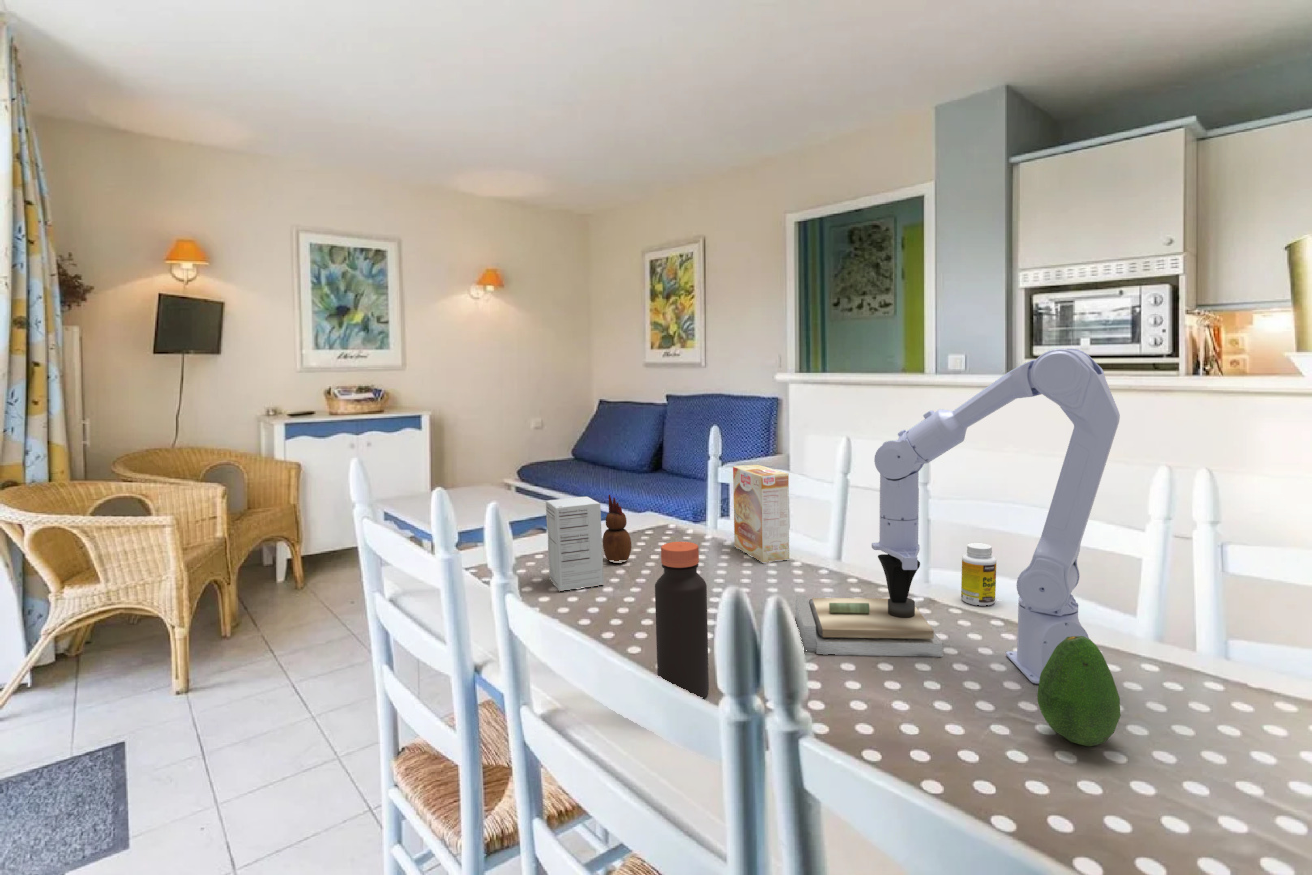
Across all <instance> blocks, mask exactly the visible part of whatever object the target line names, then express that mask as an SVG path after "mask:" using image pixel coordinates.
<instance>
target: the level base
mask: <svg viewBox="0 0 1312 875" xmlns="http://www.w3.org/2000/svg"><path fill="white" fill-rule="evenodd" d="M794 596H795V597H794V601H795V602H794V603H795V604H794V606H795V617H794V618H795V622H796V625H798V626H797V628H798V627H799V630H800V634H799V637H800V636H801V638H802V642H803V646H804V650H803V652H804V651H805V652H806V650H807V651H808V653H809V651H810V652H811V653H815V652H816V655H817V654H823V656H826V655H827V656H829V655H828V654H835V655H834V656H874V657H877V656H878V657H879V656H880V657H928V658H929V657H931V658H932V657H934V658H935V657H938V658H943V650H944V644H943V643H944V642H942V641H941V639H940V638H939V637H938V635H937V633H936V632H934V639H922V638H847V637H823V636H821V635H819V633H818V630H817V627H816V624H815V621H814V618H813V614H812V611H811V608H810V605H809V600H808V598H807V597H808V596H807V595H806V594H795V595H794ZM799 630H798V631H799ZM801 638H800V639H801ZM802 642H801V643H802ZM803 646H802V647H803ZM812 651H814V652H812ZM805 652H804V653H805Z"/></svg>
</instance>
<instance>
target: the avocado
mask: <svg viewBox="0 0 1312 875" xmlns="http://www.w3.org/2000/svg"><path fill="white" fill-rule="evenodd" d="M1036 695H1037V703H1038V707H1039V710H1040V712H1041V715H1042V716H1043V718H1044V719H1045V721H1046V723H1047V725H1048V726H1049V727H1050V728H1051V729H1052V730H1053V731H1054V733H1057V734H1058V735H1060V736H1062V737H1063V738H1065V739H1066V740H1067V741H1069V742H1070V743H1073V744H1076V745H1079V746H1085V747H1093V746H1096V745H1101V744H1104V743H1105V742H1107V740H1108V739H1109V738H1110V737H1111V736H1112V735H1113V734H1114V733H1115V731H1116V729H1117V725H1118V723H1119V721H1120V718H1121V703H1120V702H1121V701H1120V695H1119V692H1118V689H1117V686H1116V684H1115V680H1114V677H1113V673H1112V672H1111V670H1110V668H1109V665H1108V663H1107V661H1106V659H1105V656H1104V655H1103V653H1102V652H1101V650H1100V648H1099V647H1098V646H1097V644H1095V642H1093V640H1091V639H1090V638H1089V639H1088V638H1086V637H1084V636H1073V637H1067V638H1066V639H1065V640H1063V641H1062V642H1061V643H1059V644H1058V645H1057V647H1056V648H1055V650H1054V651H1053V653H1052V655H1051V657H1050V658H1049V660H1048V662H1047V664H1046V665H1045V667H1044V669H1043V671H1042V672H1041V675H1040V680H1039V684H1038V687H1037V694H1036Z"/></svg>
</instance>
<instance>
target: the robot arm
mask: <svg viewBox="0 0 1312 875" xmlns="http://www.w3.org/2000/svg"><path fill="white" fill-rule="evenodd" d="M1040 395H1042V396H1044V397H1045V398H1047V399H1049V401H1051V402H1053V403H1055V404H1056V405H1057V406H1059V408H1060V409H1061V410H1062V412H1064V414H1065V416H1066V417H1068V419H1069V420H1070V422H1071V423H1072V424H1073V430H1072V433H1071V436H1070V440H1069V443H1068V446H1067V450H1066V453H1065V456H1064V459H1063V464H1062V465H1061V470H1060V472H1059V475H1058V480H1057V483H1056V486H1055V490H1054V494H1053V496H1052V498H1051V503H1050V506H1049V508H1048V512H1047V516H1046V519H1045V522H1044V526H1043V529H1042V532H1041V534H1040V538H1039V540H1038V544H1037V546H1036V548H1035V550H1034V552H1033V555H1032V559H1031V561H1030V563H1029V565H1028V566H1027V567H1026V568H1024V569H1023V570H1022V571H1021V572H1020V574H1019V575H1018V577H1017V580H1016V591H1017V594H1018V596H1019V597H1018V606H1017V607H1018V608H1017V609H1018V610H1017V638H1016V640H1017V643H1016V646H1017V648H1016V650H1015V651H1013V650H1012V651H1011V650H1010V651H1006V652H1005V655H1006V657H1007V658H1008V659H1009V660H1010V661H1011V662H1012V663H1013V664H1014V665H1015V666H1016V668H1018V670H1020V672H1022V674H1023V675H1024V676H1025V677H1026V678H1027V679H1028V680H1029V681H1030V682H1031V683H1032V684H1038V685H1039V680H1040V675H1041V672H1042V671H1043V669H1044V667H1045V665H1046V664H1047V662H1048V660H1049V658H1050V657H1051V655H1052V653H1053V651H1054V650H1055V648H1056V647H1057V645H1058V644H1059V643H1061V642H1062V641H1063V640H1065V639H1066V638H1067V637H1073V636H1084V637H1086V638H1088V639H1090V637H1089V635H1088V632H1087V630H1086V629H1085V628H1084V627H1083V626H1082V624H1081V623H1080V619H1079V603H1078V602H1077V601H1076V598H1075V597H1074V595H1072V592H1073V590H1075V588H1076V587H1077V585H1078V584H1079V582H1080V576H1081V575H1080V570H1079V567H1078V566H1079V565H1078V558H1079V554H1080V551H1081V543H1082V540H1083V536H1084V534H1085V531H1086V528H1087V525H1088V521H1089V518H1090V515H1091V511H1092V508H1093V505H1094V501H1095V499H1096V497H1097V496H1096V495H1097V493H1098V490H1099V487H1100V486H1099V485H1100V483H1101V481H1102V477H1103V474H1104V470H1105V467H1106V465H1107V461H1108V457H1109V455H1110V451H1111V449H1112V445H1113V443H1114V439H1115V436H1116V433H1117V429H1118V427H1119V423H1120V418H1121V416H1120V411H1119V408H1118V406H1117V403H1116V401H1115V399H1114V397H1113V394H1112V391H1111V389H1110V386H1109V385H1108V381H1107V379H1106V375H1105V371H1104V370H1103V368H1102V367H1101V366H1100V365H1099V364H1098V363H1097V362H1096V361H1095V360H1094V359H1093V358H1092V357H1091V356H1090V355H1089V354H1088V353H1087V352H1084V351H1082V350H1080V349H1076V348H1054V349H1051V350H1047V351H1045V352H1043V353H1042V354H1041V355H1039V356H1037V358H1036V359H1031V360H1029V361H1027V362H1025V363H1023V364H1020V365H1018V366H1017V367H1015V368H1013V369H1012V370H1010V371H1008V372H1006V373H1005V374H1003V375H1002V376H1001V377H999V378H997V380H995V381H994V382H992V383H991V384H989V385H988V386H986V387H985V388H984V389H982V390H981V391H979V392H978V393H976V394H975V395H973V396H972V397H971V398H970V399H968V400H967V401H965V402H964V403H962V404H961V405H959V406H958V407H956V408H955V409H954V410H949V409H944V408H939V409H937V410H935V411H934V410H929V411H927V412H925V413H924V414H923V415H922V416H923V418H924V419H923V420H921V421H920V422H918V423H916V424H915V425H914V426H912V427H910V428H909V429H907V430H906V429H902V430H900V431H899V432H897V436H898V439H895V440H888V441H885V442H883V443H882V445H881V446H880V447H879V448H878V449H877V450H876V452H875V454H874V457H873V458H874V465H875V468H876V470H877V472H878V473H879V482H880V483H879V541H878V542H871V548H872V550H874V551H880V552H883V553H885V554H883V553H882V554H878V555H877V558H878V560H879V562H880V564H881V567H882V569H883V573H884V576H885V579H886V580H885V581H886V585H887V589H888V590H887V591H888V595H889V598H890V599H891V601H892V602H893V603H906V601H907V598H909V593H910V588H911V584H912V581H913V579H914V577H915V575H916V573H917V572H918V570H919V568H920V567H921V562H920V560H918V555H919V553H920V548H921V547H920V544H919V518H920V517H919V516H920V515H919V514H920V513H919V512H920V511H919V503H920V501H919V499H920V498H919V496H920V495H919V494H920V488H919V472H920V471H921V470H922V468H923V467H924V464H925V465H926V464H929V463H931V462H933V461H934V460H936V459H937V458H939V457H940V456H942V455H943V454H946V453H947V452H949V450H952V449H953V448H954V447H956V446H958V445H959V444H961V443H963V442H965V440H966V439H965V438H966V432H967V429H968V428H969V427H971V426H973V425H975V424H976V423H978V422H980V421H981V420H983V419H984V418H986V417H988V416H989V415H991V414H993V413H995V412H996V411H998V410H1000V409H1001V408H1003V407H1005V406H1006V405H1008V404H1010V403H1012V402H1013V401H1015V400H1017V399H1023V398H1032V397H1033V398H1034V397H1037V396H1040Z"/></svg>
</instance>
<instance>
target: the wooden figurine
mask: <svg viewBox="0 0 1312 875" xmlns="http://www.w3.org/2000/svg"><path fill="white" fill-rule="evenodd" d="M616 501H617V500H616V497H613V499H612V496H611V494H608V513H607V514H606V517H605V526H606V528H607V529H605V531H604V532H603V535H602V550H603V553H604V556H605V558H607V559H608V560H614V561H619V560H627V559H628V560H629V558H630V556H631V552H632V540H631V536H630V533H629V532H628V531H627V530H626V529H625V528H626V526H627V522H628V521H627V516H626V515H625V513H624V512H623V511H622V510H623V509H622V506H620V505H619V504H620V503H619V502H616ZM607 559H606V560H607ZM608 560H607V561H608ZM628 560H627V561H628Z"/></svg>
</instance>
